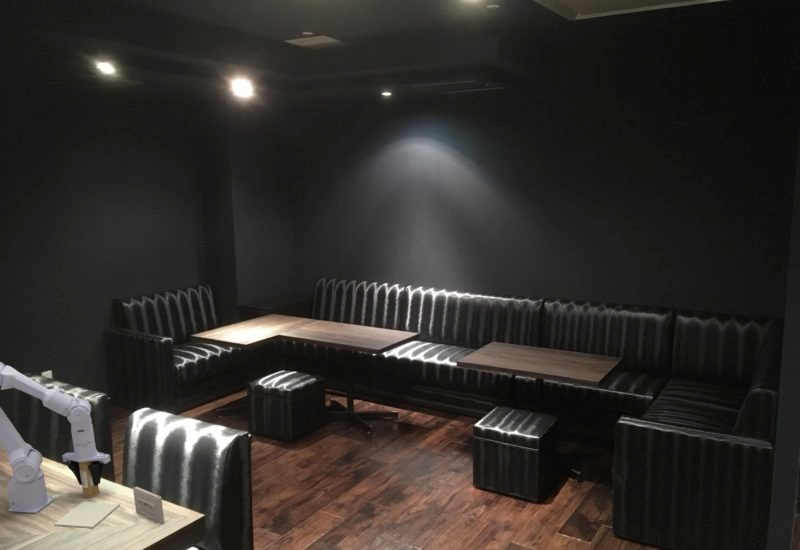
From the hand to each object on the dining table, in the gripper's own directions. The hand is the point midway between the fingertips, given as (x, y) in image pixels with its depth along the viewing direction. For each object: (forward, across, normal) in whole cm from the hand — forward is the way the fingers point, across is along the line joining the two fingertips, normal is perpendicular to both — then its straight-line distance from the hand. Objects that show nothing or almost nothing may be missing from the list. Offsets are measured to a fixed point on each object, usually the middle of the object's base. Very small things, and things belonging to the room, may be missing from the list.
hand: (90, 483), depth 196 cm
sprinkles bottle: (+4, 0, 0) cm, 4 cm away
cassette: (+4, -26, +10) cm, 28 cm away
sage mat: (+3, -7, +11) cm, 13 cm away
